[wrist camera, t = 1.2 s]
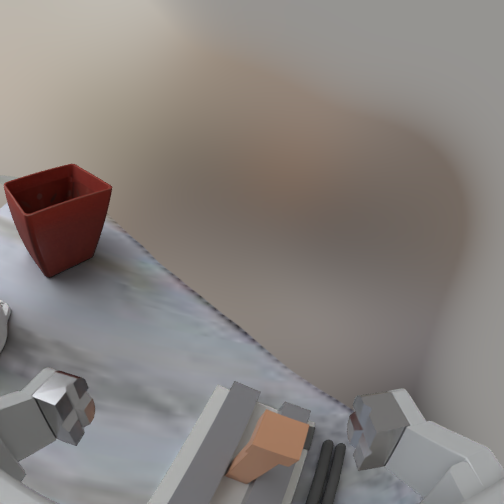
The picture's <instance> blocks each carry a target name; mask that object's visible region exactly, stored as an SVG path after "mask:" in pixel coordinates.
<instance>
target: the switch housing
mask: <svg viewBox="0 0 504 504" xmlns="http://www.w3.org/2000/svg"><path fill="white" fill-rule="evenodd" d="M259 395H260V392H259V391H257V390H255V389H252V388H250V387H248V386H245V385H243V384H241V383H238V382H236V381H234V383H233V385H232V387H231V389H230V390H229V389H226V388H224V387H222V386H220V385H217V387H216V389H215V390H214V392H213V394H212V396H211V397H210V399H209V401H208V403H207V405H206V406H205V408H204V410H203V412H202V413H201V415H200V417H199V419H198V420H197V422H196V424H195V426H194V427H193V429H192V431H191V432H190V434H189V436H188V438H187V439H186V441H185V443H184V444H183V446H182V448H181V450H180V451H179V453H178V455H177V456H176V458H175V460H174V461H173V463H172V465H171V466H170V468H169V470H168V471H167V473H166V475H165V476H164V478H163V480H162V481H161V483H160V484H159V486H158V488H157V489H156V491H155V493H154V494H153V496H152V497H151V499H150V501H149V502H148V504H291V501H292V498H293V495H294V493H295V490H296V487H297V484H298V480H299V477H300V474H301V471H302V468H303V465H304V461H305V458H306V454H307V451H308V450H309V449H310V445H311V441H312V438H313V434H314V430H315V427H314V425H315V423H314V422H311V421H308V419H309V415H310V412H311V411H310V410H307V409H304V408H301V407H298V406H296V405H293V404H290V403H287V402H285V403H284V404H283V405H282V407H281V408H280V409H279V410H277V409H274V408H272V407H269V406H266V405H264V404H261V403H259V402H257V400H258V397H259ZM266 409H267V410H270V411H272V412H275V413H278V414H280V415H283V416H286V417H288V418H291V419H294V420H297V421H300V422H303V423H306V424H309V429H308V432H307V436H306V439H305V443H304V446H303V450H302V453H301V456H300V460H299V461H297V462H296V463H294V464H293V465H291V466H289V467H287V466H283V465H280V464H278V465H277V466H275V467H274V468H272V469H270V470H269V471H267V472H266V473H264V474H263V475H261V476H259V477H258V478H256V479H254V480H253V481H251V482H249V483H248V484H245V483H242V482H239V481H237V480H234V479H231V478H229V477H226V476H225V474H226V472H227V470H228V468H229V466H230V463H231V461H232V460H233V459H234V458H235V457H236V456H237V455H238V454H239V453H240V451H241V450H242V449H243V448H244V447H245V446H246V445H247V443H248V442H249V441H250V439H251V436H252V434H253V432H254V429H255V427H256V424H257V422H258V420H259V418H260V417H261V415H262V414H263V413H264V411H265V410H266Z"/></svg>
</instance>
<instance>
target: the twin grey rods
mask: <svg viewBox="0 0 504 504" xmlns="http://www.w3.org/2000/svg"><path fill="white" fill-rule="evenodd" d="M332 449H333V442H332V441H331V440H326V441H324V443H323V446H322V450H321V453H320V457H319V461H318V465H317V469H316V472H315V476H314V479H313V483H312V486H311V489H310V493H309V496H308V499H307V502H306V504H318V503H319V499H320V496H321V492H322V489H323V485H324V481H325V478H326V474H327V470H328V466H329V462H330V457H331V453H332ZM345 450H346V446H345V444H343V443H340V444H338V445H337V446H336V448H335V452H334V457H333V461H332V465H331V469H330V473H329V477H328V481H327V485H326V489H325V492H324V496H323V499H322V503H321V504H333V502H334V498H335V494H336V490H337V486H338V482H339V478H340V474H341V469H342V465H343V460H344V455H345Z"/></svg>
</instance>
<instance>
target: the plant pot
mask: <svg viewBox="0 0 504 504" xmlns="http://www.w3.org/2000/svg"><path fill="white" fill-rule="evenodd" d="M4 190H5V194H6V198H7V202H8V205H9V209H10V212H11V215H12V218H13V220H14V223H15V226H16V228H17V230H18V233H19V235H20V237H21V239H22V241H23V243H24V245H25V247H26V249H27V250H28V252H29V253H30V255H31V256H32V258H33V259H34V261H35V262H36V264H37V265H38V267H39V268H40V269H41V271H42V272H43V274H44V275H45V276H46V277H52V276H54V275H56V274H58V273H60V272H62V271H64V270H66V269H68V268H70V267H73V266H75V265H77V264H79V263H81V262H83V261H85V260H87V259H90V258H91V257H93V255H94V252H95V250H96V247H97V244H98V241H99V238H100V235H101V232H102V229H103V225H104V222H105V218H106V214H107V210H108V206H109V202H110V197H111V192H112V186H111V185H109V184H108V183H106V182H104V181H102V180H101V179H99V178H98V177H96V176H94V175H92V174H91V173H89V172H87V171H86V170H84V169H82V168H80V167H79V166H77V165H75V164H68V165H64V166H60V167H56V168H52V169H49V170H45V171H41V172H38V173H35V174H31V175H28V176H24V177H21V178H18V179H15V180H12V181H9V182H6V183H5V184H4Z"/></svg>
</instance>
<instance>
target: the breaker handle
mask: <svg viewBox="0 0 504 504" xmlns="http://www.w3.org/2000/svg"><path fill="white" fill-rule="evenodd" d="M308 429H309V424H306V423H303V422H300V421H297V420H294V419H291V418H288V417H286V416H283V415H280V414H278V413H275V412H272V411H270V410H267V409H266V410H265V411H264V413H263V414H262V415H261V417H260V418H259V420H258V422H257V424H256V427H255V429H254V432H253V434H252V436H251V439H250V441H249V442H248V443H247V445H246V446H245V447H244V448H243V449H242V450H241V451H240V453H239V454H238V455H237V456H236V457H235V458H234V459H233V460H232V461H231V463H230V466H229V468H228V470H227V472H226V474H225V476H226V477H229V478H231V479H234V480H237V481H239V482H242V483H245V484H248V483H249V482H251V481H253V480H254V479H256V478H258V477H259V476H261V475H263V474H264V473H266V472H267V471H269V470H270V469H272V468H274V467H275V466H277V465H278V464H280V465H283V466H287V467H289V466H291V465H293V464H294V463H296V462H297V461H299V460H300V456H301V453H302V450H303V446H304V443H305V439H306V436H307V432H308Z"/></svg>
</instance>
